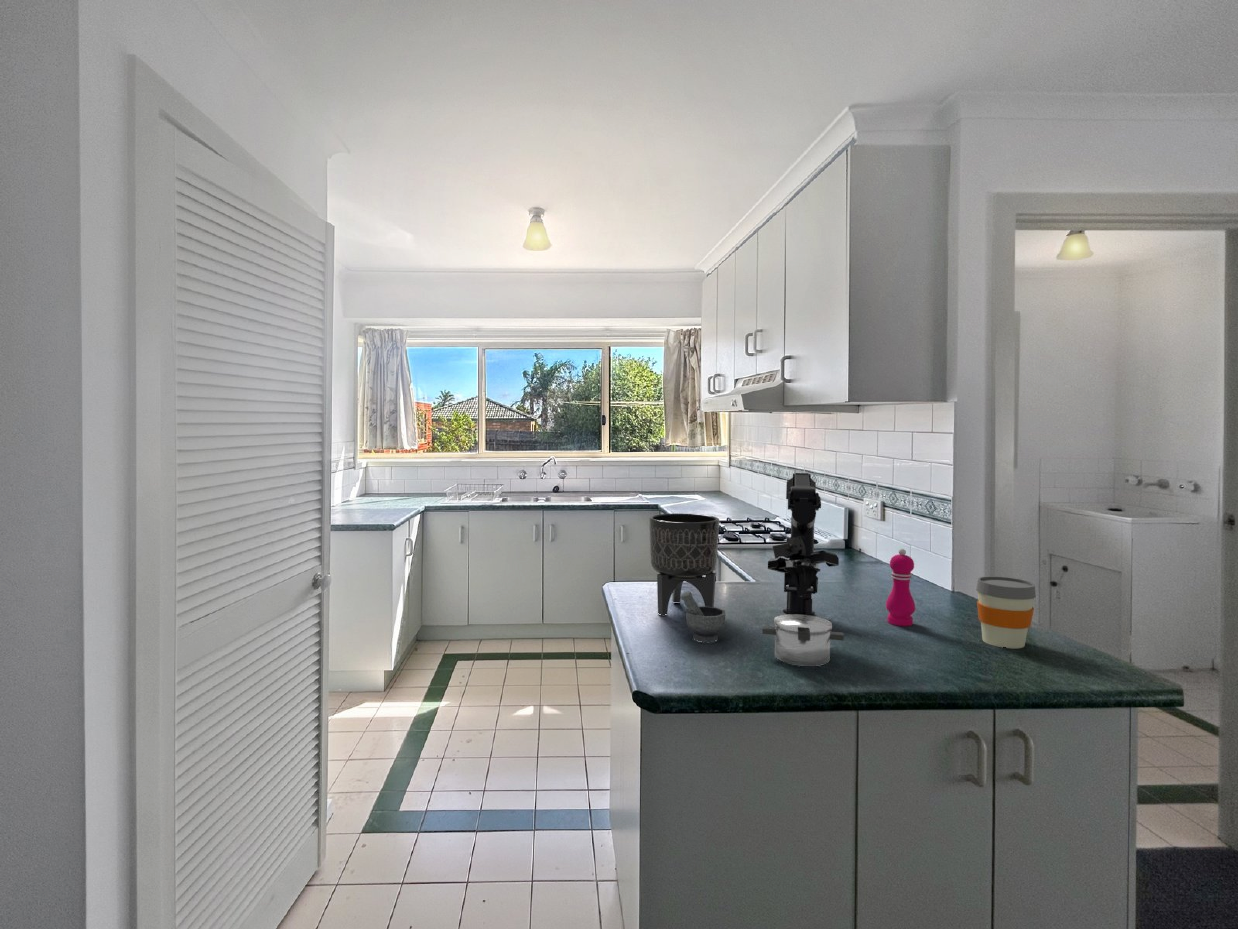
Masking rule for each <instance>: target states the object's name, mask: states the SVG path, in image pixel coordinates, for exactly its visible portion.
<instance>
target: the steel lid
mask: <svg viewBox="0 0 1238 929" xmlns="http://www.w3.org/2000/svg"><path fill="white" fill-rule="evenodd" d="M773 620H774V621H773V625H774V627H775V626H776V627H778V628H780V629H782V630H786V631H790V632H795V633H798V640H804V641H810V634H820V633H826V632H829V631H830V632H832V630H833V623H832V622H831V621H829V620H828V619H826V618H823V617H819V616H815V615H800V614H789V613H787V614H780V615H778V616H776V617H774V619H773Z"/></svg>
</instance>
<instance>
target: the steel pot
mask: <svg viewBox="0 0 1238 929" xmlns="http://www.w3.org/2000/svg"><path fill="white" fill-rule="evenodd" d="M761 632H762V634H763V635H771V636H774V658H776V657H777V659H776V660H778V659H779V660H780V661H779V660H778V661H779V662H781V661H784V662H786V663H789V664H796V665H803V666H816V665H821V664H826V663H828V662H829V661H830V660H831V658H830V657H831V655H830V654H831V640H832V641H833V640H834V641H843V642H844V641H845V634H844V632H841V631H840V632H839V631H829V632H826V633H820V634H810V641H804V640H798V633H795V632H790V631H786V630H782V629H780V628H778V627H776V626H775V625H774V626H767V625H764V626H762V631H761ZM786 663H785V664H786ZM829 663H830V662H829ZM829 663H828V664H829ZM789 664H788V665H789ZM826 665H827V664H826Z"/></svg>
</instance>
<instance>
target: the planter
mask: <svg viewBox="0 0 1238 929" xmlns="http://www.w3.org/2000/svg"><path fill="white" fill-rule="evenodd" d="M648 520H649V524H648V525H649V551H650V552H649V553H650V566H651V569H652V570H653V571H654V572H656V573H657V575H656V581H657V582H656V589H657V592H656V593H657V614H658V613H659V614H661V615H665V614H667V615H668V611H669V610H668V609H669V603H670V600H671V598H672V601H673V602H680V603H681V600H682V599H681V595H682V588H683V583H684V582H685V583H689V584H690V585H692V586H693V587H694V588H696V589H697V591H698V592H699V593H700V595H701V597H702V599H703V604H704V606H708V607H715V592H716V591H715V590H716V580H717V579H716V578H717V576H716V575H717V573H716V572H715V571H716V569H717V565H718V564H717V562H718V561H717V560H718V550H719V548H718V546H719V535H720V534H719V532H720V519H719V518H718V517H717V516H713V515H708V514H701V513H700V514H699V513H683V512H682V513H680V512H679V513H678V512H677V513H673V512H672V513H661V514H653V515H651V516H649V518H648Z"/></svg>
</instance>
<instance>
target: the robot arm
mask: <svg viewBox="0 0 1238 929" xmlns="http://www.w3.org/2000/svg"><path fill="white" fill-rule="evenodd" d="M811 477H812V476H811V473H809V472H794V473H792V477H791V478H790V479H789V480H788V481H786V486H785V487H786V488H785V489H786V491H785V492H786V494H785V499H786V500H787V510H790V511H791V516H790V537H787V538H786V540H785V541H786V543H781V544H775V545H772V550H773V555H774V557H773V558H770V559H768V561H767V569H768V570H771V571H775V572H777V573H782V574H783V573H784V574H783V575H784V578H783V579H784V580H783V593H786V594H787V595H786V608H784V609H782V612H783V613H786V614H800V615H810V616H813V615H815V614H816V611H813V598H812V594H813V595H815V594H818V587H819V586H818V584H819V577H818V576H817V574H818V573H820V572H821V569H820V568H819V564H826V566H827V567H829V568H831V567H838V566H840V564H839V563H840V561H839V556H838V554H836V553H834V552H831V551H827V550H817V551H815V545H817V544H818V539H815V521H816V517H817V511H819V510H820V509H822V499H821V496H820V495H819V492H817V490H816V489H817V484H816V482H815V481H814V480H813V479H812V478H811Z"/></svg>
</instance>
